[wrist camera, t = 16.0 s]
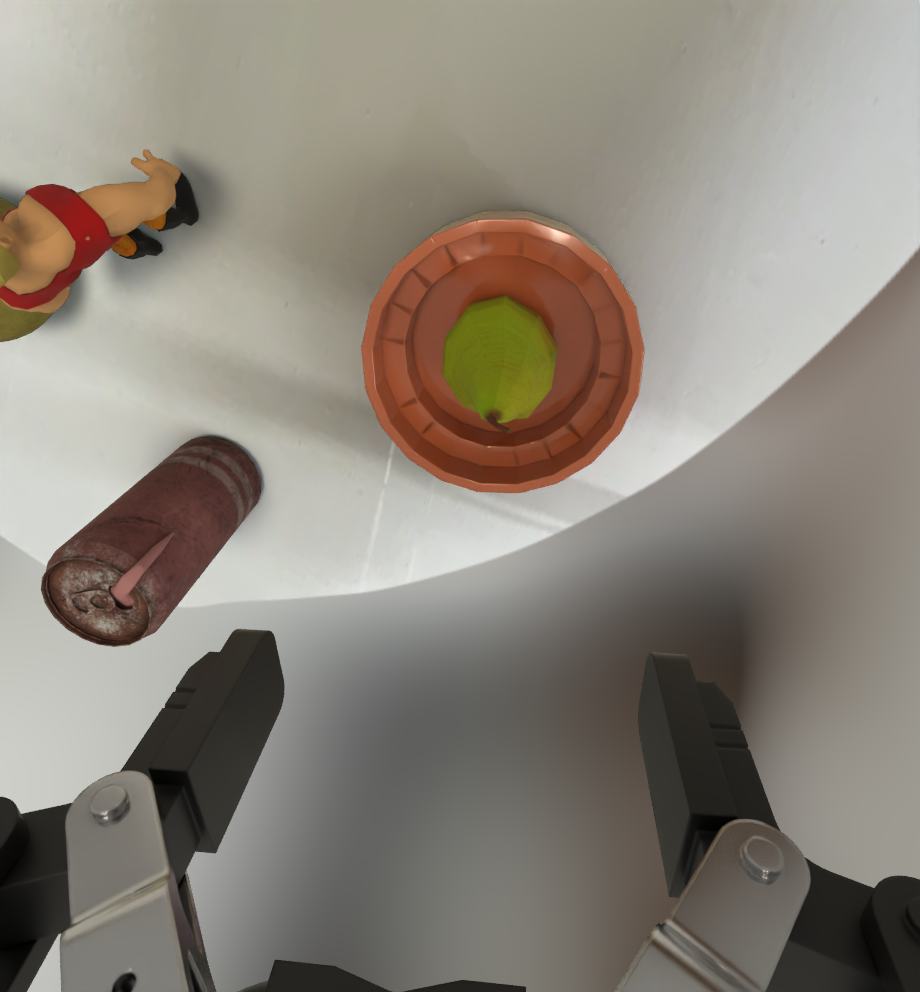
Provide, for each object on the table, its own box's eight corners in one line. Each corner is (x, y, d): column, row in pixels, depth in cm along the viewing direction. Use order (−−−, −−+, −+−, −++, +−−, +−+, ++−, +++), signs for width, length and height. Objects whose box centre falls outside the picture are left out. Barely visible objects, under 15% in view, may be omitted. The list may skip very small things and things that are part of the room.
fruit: (434, 302, 35) (392, 367, 24) (544, 274, 34) (550, 330, 23) (463, 408, 38) (437, 506, 27) (566, 386, 36) (580, 480, 26)
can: (283, 472, 42) (181, 604, 30) (234, 529, 44) (121, 671, 32) (207, 413, 40) (65, 526, 28) (161, 475, 43) (13, 603, 31)
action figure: (198, 130, 32) (-28, 117, 19) (244, 194, 34) (62, 222, 21) (84, 237, 36) (-175, 287, 23) (131, 292, 37) (-89, 369, 24)
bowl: (643, 207, 32) (661, 216, 28) (616, 458, 39) (626, 496, 34) (372, 211, 33) (348, 220, 29) (391, 452, 40) (374, 489, 36)
